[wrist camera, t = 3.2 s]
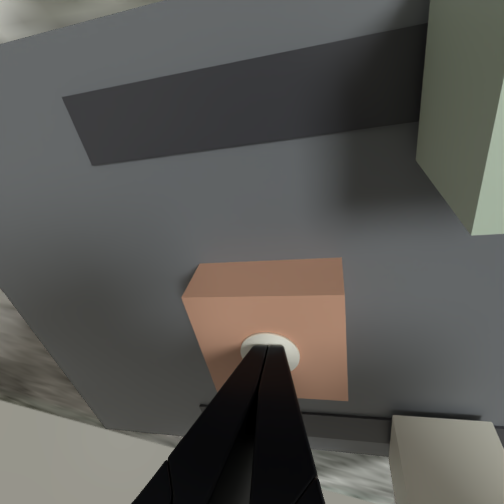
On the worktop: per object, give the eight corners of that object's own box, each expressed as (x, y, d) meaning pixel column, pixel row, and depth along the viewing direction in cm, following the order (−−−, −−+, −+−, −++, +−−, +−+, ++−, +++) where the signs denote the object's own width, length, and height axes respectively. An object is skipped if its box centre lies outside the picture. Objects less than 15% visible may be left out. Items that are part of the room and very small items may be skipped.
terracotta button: (341, 257, 8) (345, 298, 7) (345, 358, 11) (348, 404, 9) (199, 263, 9) (179, 300, 8) (228, 354, 12) (216, 395, 10)
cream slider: (491, 421, 10) (543, 540, 8) (474, 467, 12) (513, 577, 10) (392, 415, 11) (411, 520, 9) (388, 458, 13) (404, 558, 10)
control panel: (861, -161, 5) (1144, -264, 3) (548, 421, 13) (580, 478, 12) (-74, 76, 10) (-157, 85, 8) (125, 393, 18) (104, 430, 17)
